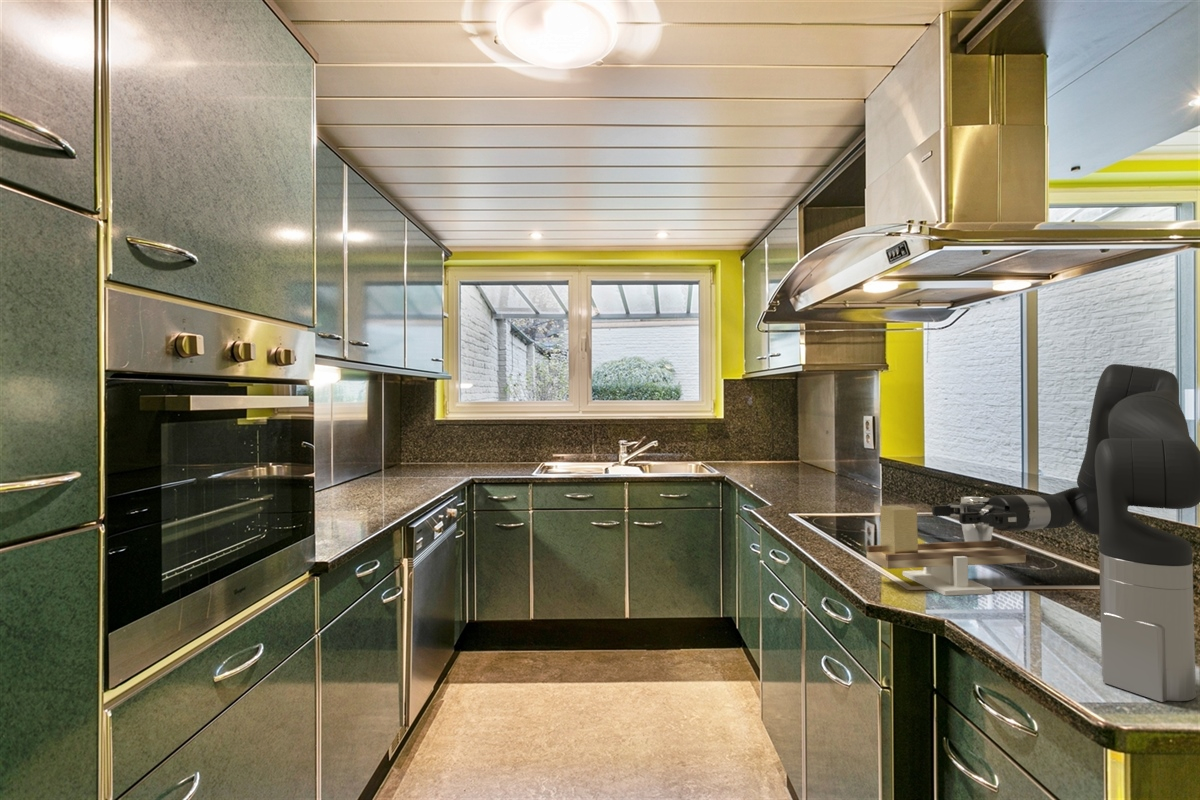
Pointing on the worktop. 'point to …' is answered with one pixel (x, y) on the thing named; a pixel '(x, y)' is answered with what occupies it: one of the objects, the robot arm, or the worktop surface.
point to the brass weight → (898, 529)
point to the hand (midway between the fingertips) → (946, 514)
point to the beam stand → (948, 579)
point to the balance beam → (948, 554)
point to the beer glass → (976, 530)
